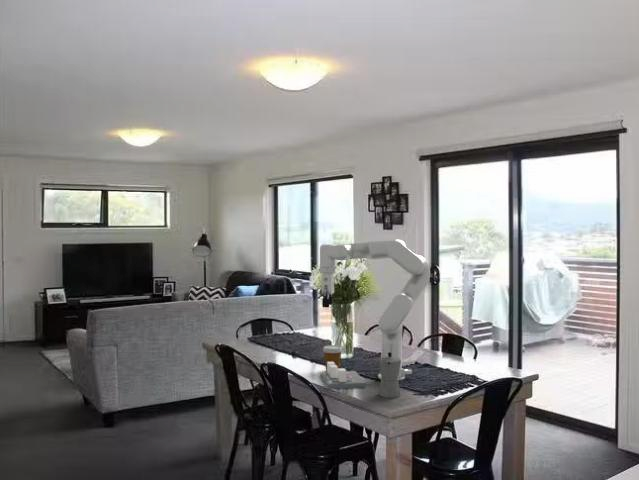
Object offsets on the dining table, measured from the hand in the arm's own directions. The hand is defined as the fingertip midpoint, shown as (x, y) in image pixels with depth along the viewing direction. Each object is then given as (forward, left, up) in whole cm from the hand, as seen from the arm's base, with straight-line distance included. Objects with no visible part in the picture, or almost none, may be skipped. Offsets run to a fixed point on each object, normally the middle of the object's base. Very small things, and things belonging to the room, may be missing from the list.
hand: (327, 305), depth 292 cm
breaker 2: (0, +16, -30) cm, 34 cm away
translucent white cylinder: (-43, -13, -33) cm, 55 cm away
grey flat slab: (-4, +16, -33) cm, 37 cm away
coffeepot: (-20, +39, -33) cm, 55 cm away
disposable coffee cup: (-3, -4, -33) cm, 33 cm away
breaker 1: (0, +9, -30) cm, 32 cm away
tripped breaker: (-3, +23, -30) cm, 38 cm away
